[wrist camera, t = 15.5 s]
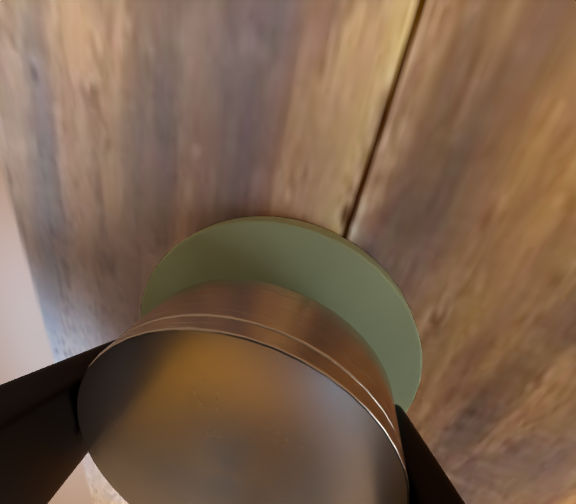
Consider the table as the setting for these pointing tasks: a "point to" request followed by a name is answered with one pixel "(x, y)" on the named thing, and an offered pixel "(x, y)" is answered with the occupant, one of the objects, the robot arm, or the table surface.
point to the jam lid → (243, 404)
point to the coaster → (303, 283)
